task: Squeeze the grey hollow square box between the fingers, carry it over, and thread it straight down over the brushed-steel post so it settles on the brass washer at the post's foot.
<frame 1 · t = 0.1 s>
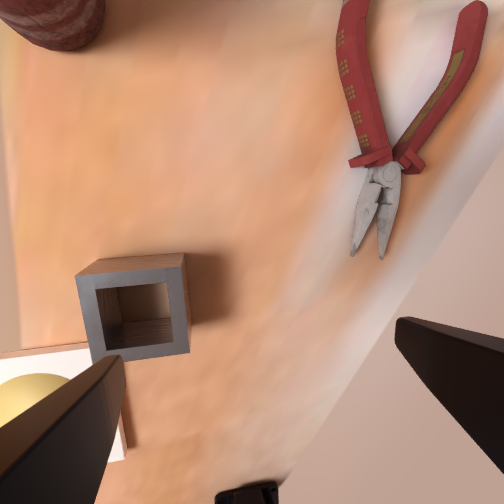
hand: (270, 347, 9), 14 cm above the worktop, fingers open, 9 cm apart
pliers: (367, 121, 23), on the worktop
post base: (47, 408, 23), on the worktop
grey hollow square box: (147, 294, 22), on the worktop
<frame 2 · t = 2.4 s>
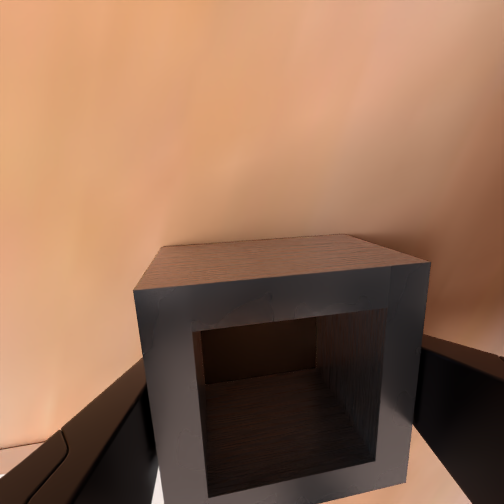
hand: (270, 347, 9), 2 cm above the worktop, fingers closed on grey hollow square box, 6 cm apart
grey hollow square box: (260, 324, 10), on the worktop, touching gripper
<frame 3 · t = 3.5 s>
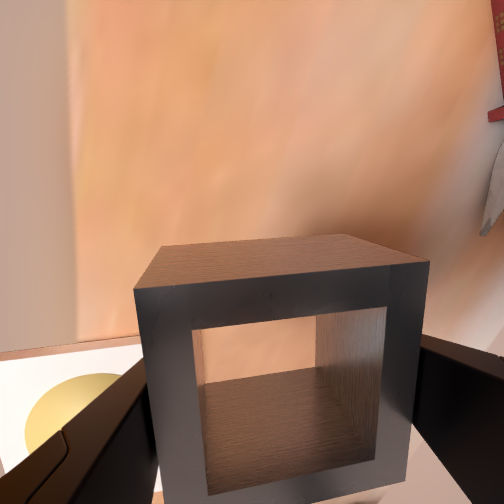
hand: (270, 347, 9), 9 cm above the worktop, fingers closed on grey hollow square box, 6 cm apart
post base: (105, 418, 18), on the worktop
grey hollow square box: (260, 323, 10), point 7 cm above the worktop, touching gripper
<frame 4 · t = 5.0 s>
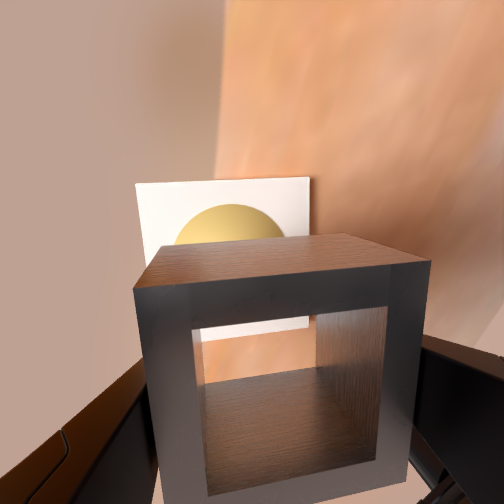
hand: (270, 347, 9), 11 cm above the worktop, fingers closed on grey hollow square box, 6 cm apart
post base: (230, 260, 20), on the worktop
grey hollow square box: (260, 323, 10), point 10 cm above the worktop, touching gripper
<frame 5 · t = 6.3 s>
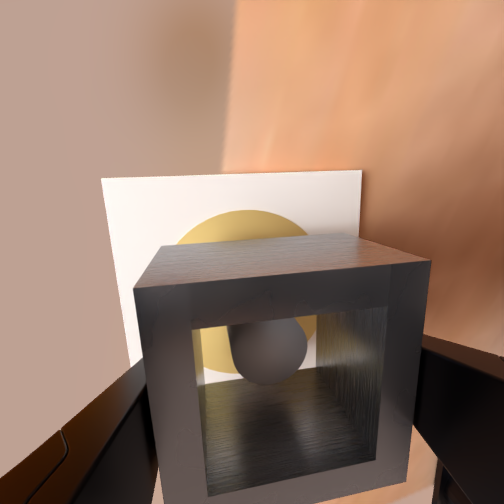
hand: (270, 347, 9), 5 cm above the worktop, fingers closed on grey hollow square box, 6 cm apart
post base: (243, 288, 14), on the worktop
grey hollow square box: (260, 323, 10), point 4 cm above the worktop, touching gripper
when the fingers open (4 cm above the worktop, at t = 7.6 s): grey hollow square box drops 1 cm, resting on post base.
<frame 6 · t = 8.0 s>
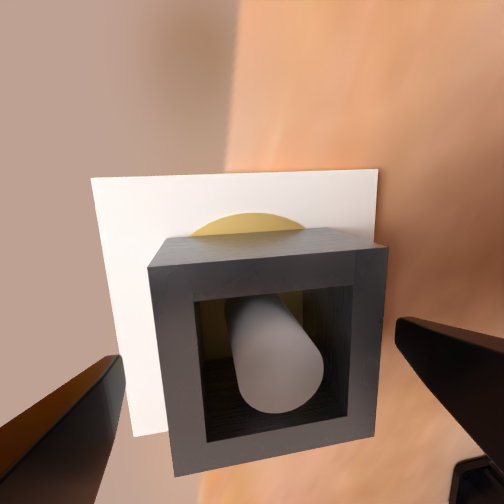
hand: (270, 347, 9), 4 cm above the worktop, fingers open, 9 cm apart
post base: (248, 298, 13), on the worktop
grey hollow square box: (253, 307, 12), point 1 cm above the worktop, touching post base
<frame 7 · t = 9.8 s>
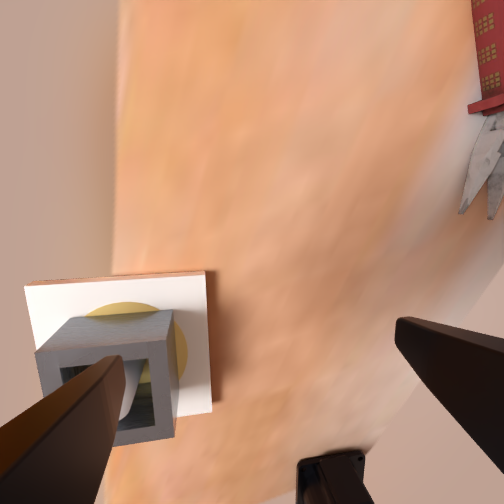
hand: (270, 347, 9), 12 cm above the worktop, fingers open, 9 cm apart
pliers: (487, 65, 21), on the worktop
post base: (131, 348, 20), on the worktop
grey hollow square box: (128, 356, 19), point 1 cm above the worktop, touching post base
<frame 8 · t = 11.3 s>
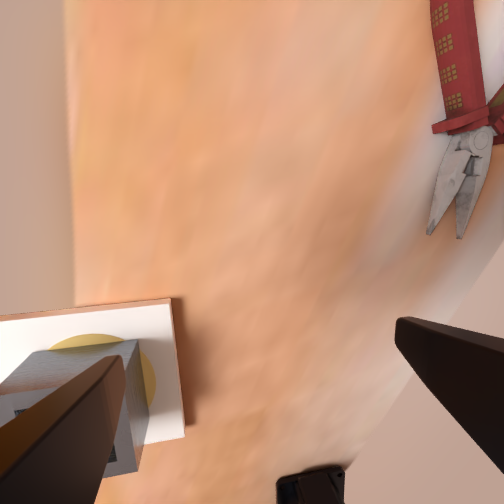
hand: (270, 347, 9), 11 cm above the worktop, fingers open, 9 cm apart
pliers: (452, 83, 21), on the worktop
post base: (100, 377, 20), on the worktop
grey hollow square box: (95, 387, 19), point 1 cm above the worktop, touching post base
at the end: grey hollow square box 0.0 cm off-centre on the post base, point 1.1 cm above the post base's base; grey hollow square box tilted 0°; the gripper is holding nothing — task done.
